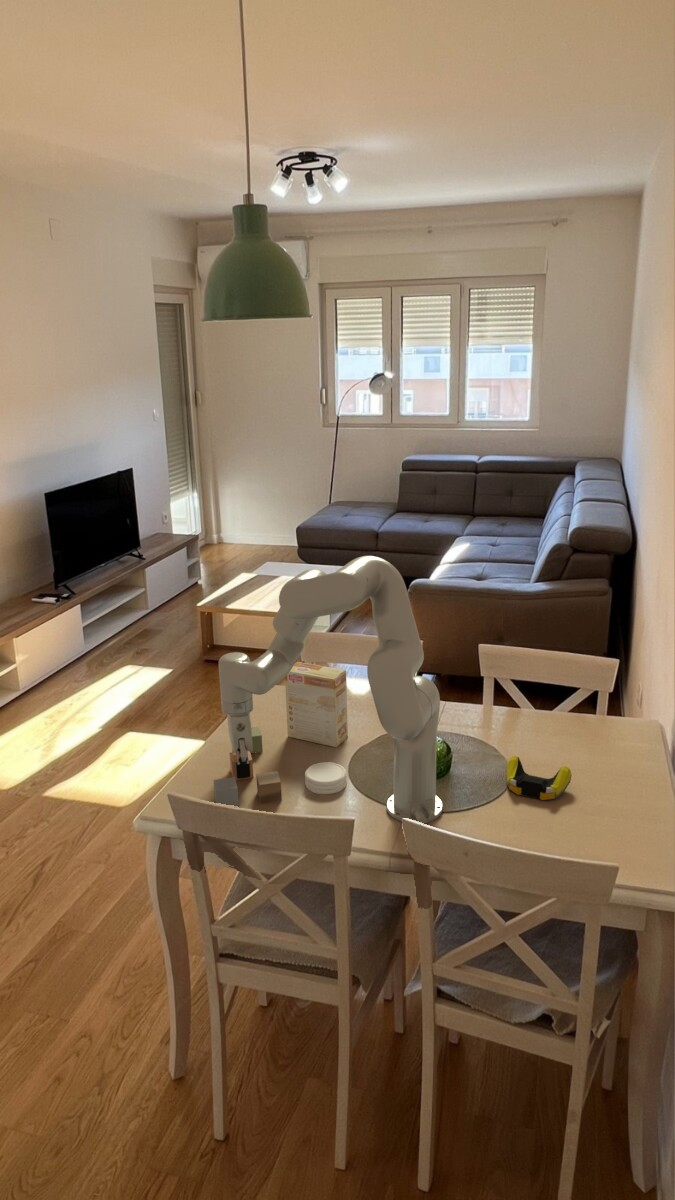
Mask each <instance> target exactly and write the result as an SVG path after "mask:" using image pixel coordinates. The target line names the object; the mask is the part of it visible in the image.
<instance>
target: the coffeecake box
mask: <svg viewBox="0 0 675 1200" xmlns="http://www.w3.org/2000/svg"><path fill="white" fill-rule="evenodd" d="M284 686H285V705H286V706H285V707H286V725H287V737H288V738H292V739H298V740H302V741H305V742H311V743H315V744H320V745H323V746H330V747H333V748H338V747H339V746H340V745H341V743H343V742H344V741H345V740H347V738H348V737H349V735H348V734H349V733H348V732H349V731H348V700H347V699H348V695H347V693H348V692H347V691H348V690H347V687H348V686H347V670H346V669H342V668H337V667H330V666H326V665H324V666H323V665H318V664H313V663H307V662H300V661H296V662H295V664H294V666H293V667H292V669H291V670H290V672H289V673H288V674H287V675H286V676H285V677H284Z"/></svg>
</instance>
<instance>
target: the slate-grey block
mask: <svg viewBox="0 0 675 1200" xmlns="http://www.w3.org/2000/svg"><path fill="white" fill-rule="evenodd" d="M213 790H214V791H213V792H214V801H215V804H216V803H221V804H226V805H234V806H239V807H240V805H239V792H238V791H239V790H238V784H237V780H236V779H235V777H232V776H231V777H226V778H225V777H224V778H218V779H213Z"/></svg>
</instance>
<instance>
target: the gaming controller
mask: <svg viewBox="0 0 675 1200" xmlns="http://www.w3.org/2000/svg"><path fill="white" fill-rule="evenodd" d="M505 774H506V777H505V778H506V785H507V787H508V789H509V790H510V791H511V792H513V793H514V794H516V795H517V796H524V797H527V798H528V797H529V798H532V799H533V798H534V799H536V800H542V801H547V800H548V801H549V800H555V799H556V798H558V797H559V796H560V795H562V794H563V793H564V792H565V790H566V789H567V788H568V786H569V785H570V783H571V780H572V777H573V776H572V771H571V769H570V768H569V767H568V766H566V765H562V766H561V767H560V768H559V770H558V771H557V773H555V775H554V776H553V777H551V778H544V777H542V776H541V777H540V776H536V775H531V774H528V773H527V772H525V770H524V767H523V764H522V762H521V759H520V757H519V756H517V755H514V756H513V755H512V756H511V757H510V758H509V759H508V762H507V763H506V773H505Z"/></svg>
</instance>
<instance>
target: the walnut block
mask: <svg viewBox="0 0 675 1200" xmlns="http://www.w3.org/2000/svg"><path fill="white" fill-rule="evenodd" d="M255 776H256V788H257V789H256V791H257V796H258V799H259V804H266V803H267V804H268V803H275V802H281V801H283V800H282V799H283V796H282V781H281V778H280V774H279V772H278V771H277V770H275V771H268V772H262V773H261V772H260V773H256V775H255Z"/></svg>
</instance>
